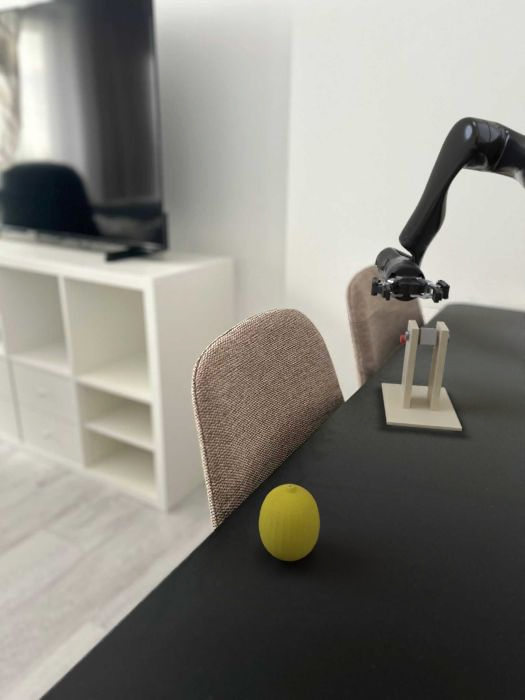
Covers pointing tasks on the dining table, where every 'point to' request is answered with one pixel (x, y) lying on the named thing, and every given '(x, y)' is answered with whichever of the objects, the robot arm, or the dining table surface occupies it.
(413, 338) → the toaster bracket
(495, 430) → the dining table surface
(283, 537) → the lemon
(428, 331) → the lever
